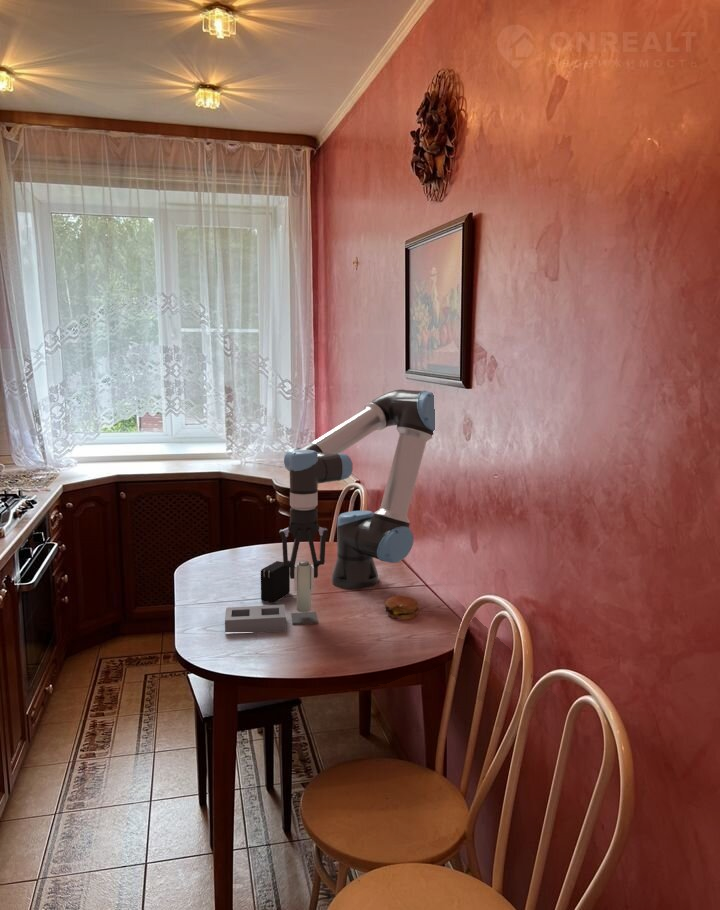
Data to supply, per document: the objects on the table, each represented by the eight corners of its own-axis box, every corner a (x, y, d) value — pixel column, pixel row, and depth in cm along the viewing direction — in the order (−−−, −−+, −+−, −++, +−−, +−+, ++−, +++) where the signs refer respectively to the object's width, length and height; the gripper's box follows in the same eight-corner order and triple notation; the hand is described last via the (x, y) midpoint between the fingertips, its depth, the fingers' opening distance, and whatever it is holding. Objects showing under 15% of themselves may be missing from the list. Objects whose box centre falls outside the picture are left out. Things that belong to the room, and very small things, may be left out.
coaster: (315, 613, 194) (315, 611, 194) (318, 623, 187) (318, 621, 187) (291, 615, 193) (291, 613, 193) (292, 624, 186) (292, 622, 186)
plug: (310, 606, 192) (310, 559, 190) (311, 611, 188) (311, 564, 186) (296, 607, 191) (296, 560, 189) (297, 612, 187) (297, 564, 185)
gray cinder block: (284, 618, 191) (284, 604, 190) (285, 631, 182) (285, 617, 181) (226, 621, 188) (226, 607, 188) (225, 634, 179) (224, 620, 179)
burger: (414, 606, 200) (414, 591, 199) (422, 619, 191) (422, 603, 190) (381, 609, 198) (381, 594, 197) (388, 621, 189) (388, 606, 188)
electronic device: (290, 593, 210) (289, 562, 208) (272, 604, 201) (272, 571, 199) (278, 591, 212) (278, 560, 210) (260, 601, 203) (260, 569, 201)
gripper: (333, 503, 190) (332, 583, 193) (272, 504, 187) (272, 585, 191) (336, 509, 182) (335, 592, 186) (272, 510, 180) (273, 595, 183)
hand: (303, 588), depth 188 cm, fingers closed on plug, 4 cm apart
